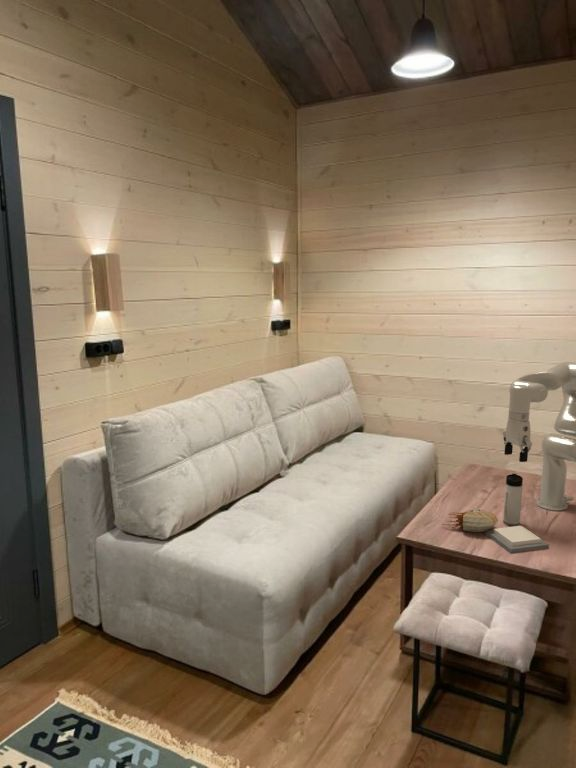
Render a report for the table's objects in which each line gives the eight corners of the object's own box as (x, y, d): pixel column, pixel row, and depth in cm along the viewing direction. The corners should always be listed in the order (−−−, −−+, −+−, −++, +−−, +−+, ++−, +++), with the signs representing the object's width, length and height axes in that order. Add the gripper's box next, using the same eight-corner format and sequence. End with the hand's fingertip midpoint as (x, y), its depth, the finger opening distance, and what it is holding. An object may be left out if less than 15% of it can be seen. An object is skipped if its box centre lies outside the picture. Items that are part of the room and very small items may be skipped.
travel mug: (519, 520, 240) (522, 474, 236) (519, 527, 234) (523, 479, 230) (503, 518, 242) (506, 472, 238) (503, 525, 236) (506, 477, 232)
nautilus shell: (440, 534, 229) (442, 521, 243) (499, 537, 222) (497, 524, 237) (440, 514, 228) (442, 502, 242) (499, 517, 221) (497, 505, 236)
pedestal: (521, 530, 231) (522, 523, 231) (548, 548, 216) (549, 540, 215) (485, 534, 228) (486, 527, 227) (510, 553, 212) (510, 545, 212)
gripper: (541, 420, 222) (537, 464, 225) (513, 410, 239) (510, 451, 242) (524, 421, 221) (520, 465, 224) (497, 411, 237) (494, 452, 240)
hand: (515, 458), depth 233 cm, fingers open, 9 cm apart
